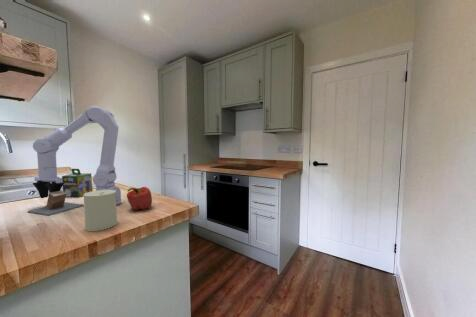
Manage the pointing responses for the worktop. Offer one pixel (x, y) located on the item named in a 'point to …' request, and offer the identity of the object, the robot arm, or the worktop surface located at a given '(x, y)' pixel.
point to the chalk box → (77, 184)
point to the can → (100, 210)
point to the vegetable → (139, 198)
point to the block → (56, 199)
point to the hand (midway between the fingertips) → (49, 198)
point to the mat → (49, 212)
